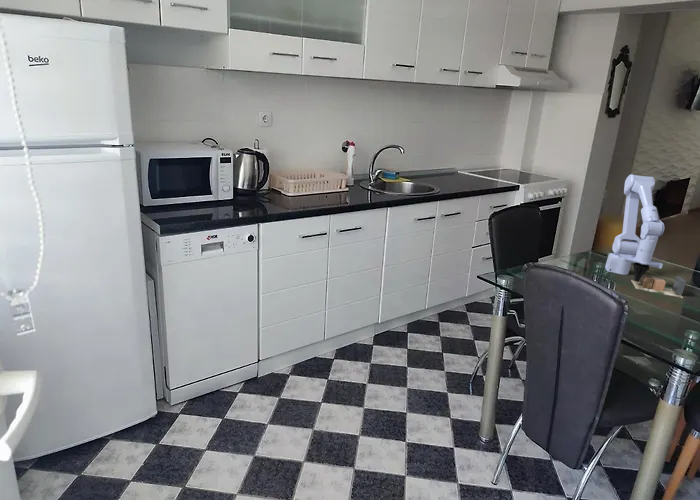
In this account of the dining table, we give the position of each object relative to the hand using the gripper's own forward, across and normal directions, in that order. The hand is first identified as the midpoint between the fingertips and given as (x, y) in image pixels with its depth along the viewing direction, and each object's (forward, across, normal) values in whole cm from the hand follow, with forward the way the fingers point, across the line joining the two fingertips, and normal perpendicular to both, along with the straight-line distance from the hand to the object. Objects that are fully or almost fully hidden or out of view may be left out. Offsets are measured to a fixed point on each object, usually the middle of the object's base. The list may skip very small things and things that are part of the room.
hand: (636, 280), depth 203 cm
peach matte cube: (+2, +8, 0) cm, 8 cm away
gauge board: (+3, +8, 0) cm, 8 cm away
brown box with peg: (+1, +4, 0) cm, 4 cm away
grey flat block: (+3, +15, 0) cm, 16 cm away
